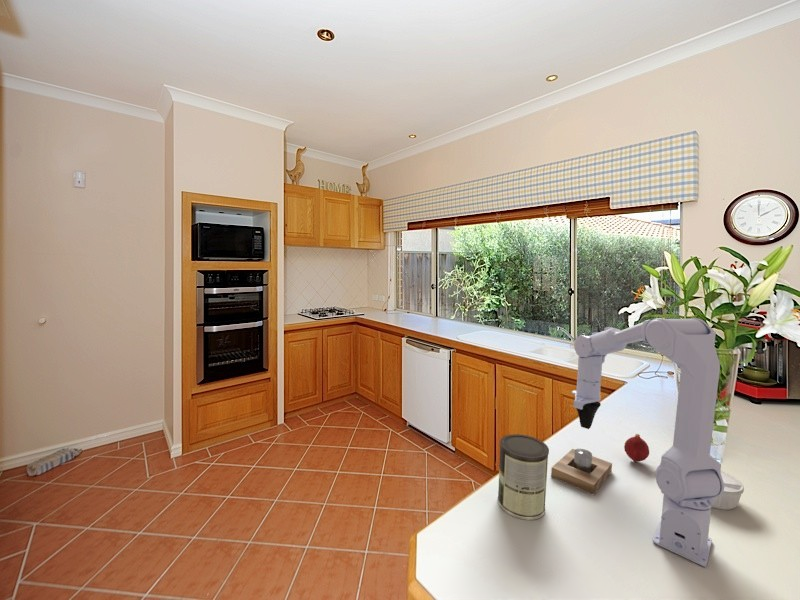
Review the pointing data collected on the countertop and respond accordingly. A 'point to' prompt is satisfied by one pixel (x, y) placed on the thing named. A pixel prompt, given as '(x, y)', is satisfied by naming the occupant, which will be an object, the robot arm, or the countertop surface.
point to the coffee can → (523, 476)
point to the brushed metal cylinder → (583, 460)
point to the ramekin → (729, 493)
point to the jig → (581, 473)
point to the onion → (636, 448)
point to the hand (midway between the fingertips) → (585, 427)
